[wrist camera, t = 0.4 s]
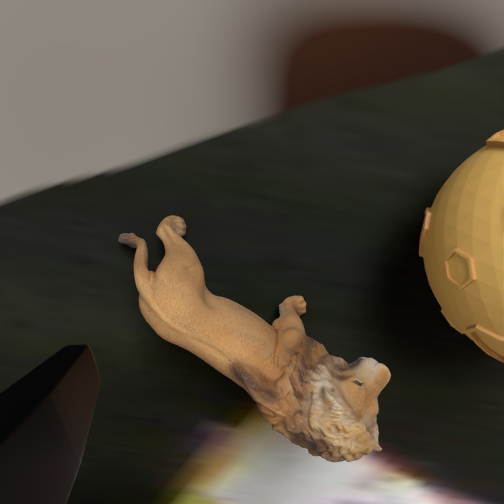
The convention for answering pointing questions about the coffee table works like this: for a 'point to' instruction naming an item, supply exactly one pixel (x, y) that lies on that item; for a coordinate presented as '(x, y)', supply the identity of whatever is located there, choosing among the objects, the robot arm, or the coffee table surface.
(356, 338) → the coffee table surface
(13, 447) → the robot arm
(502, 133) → the stress ball
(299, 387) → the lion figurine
